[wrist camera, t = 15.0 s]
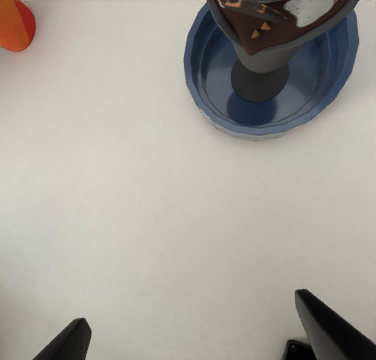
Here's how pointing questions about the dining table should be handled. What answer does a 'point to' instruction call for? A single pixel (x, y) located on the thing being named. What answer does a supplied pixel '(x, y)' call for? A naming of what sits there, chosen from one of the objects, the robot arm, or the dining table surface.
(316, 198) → the dining table surface
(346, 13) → the sundae
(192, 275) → the dining table surface
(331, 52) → the bowl
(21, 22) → the paper cup
